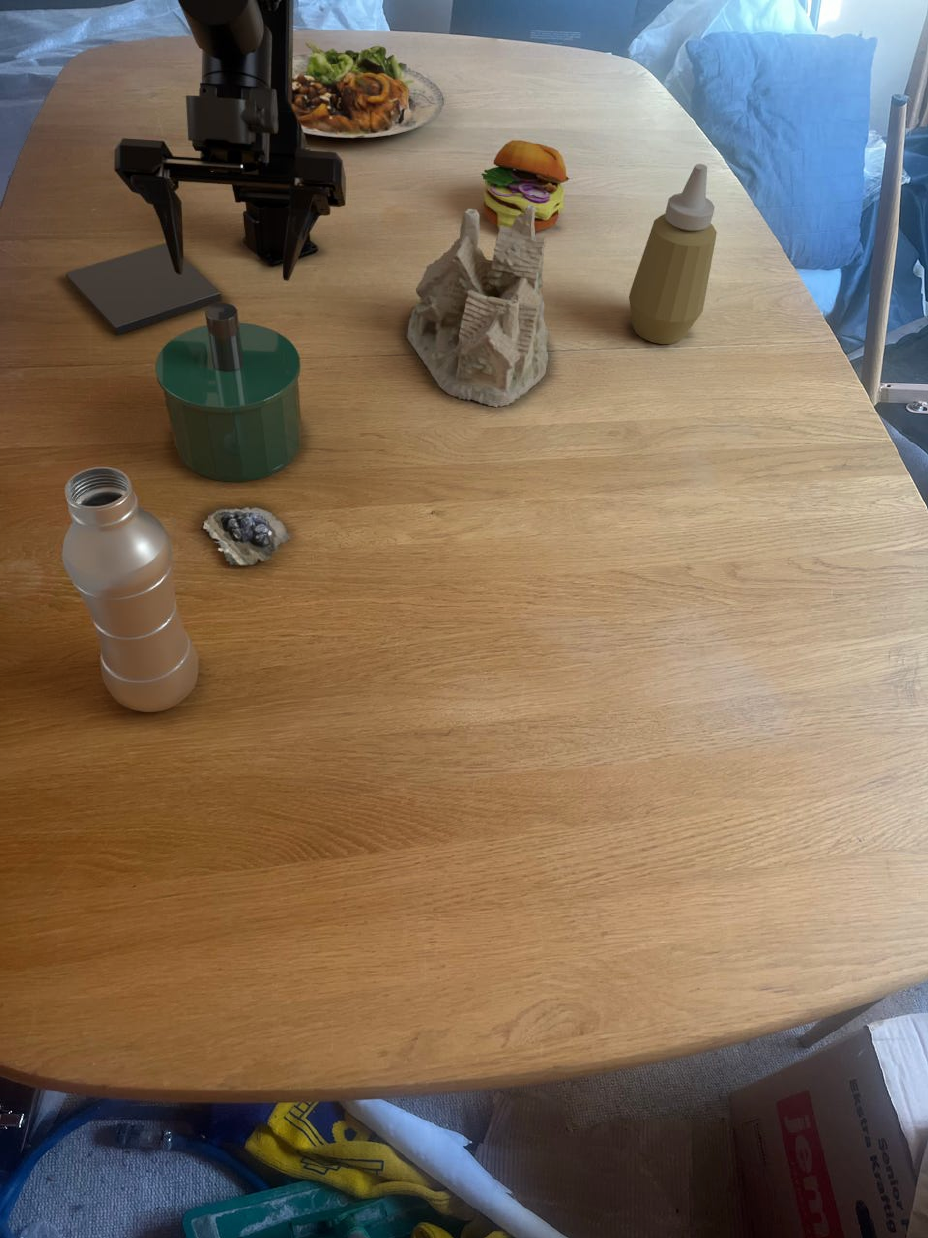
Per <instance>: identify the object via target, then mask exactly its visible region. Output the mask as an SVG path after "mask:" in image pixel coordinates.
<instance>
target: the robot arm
mask: <svg viewBox="0 0 928 1238" xmlns="http://www.w3.org/2000/svg"><path fill="white" fill-rule="evenodd" d="M177 2H178V4H179V7H180V9H181V11H182V14H183V16H184V18H185V21H186V22H187V25H188V27H189V30H190V32H191V34H192V37H193V39H194V41H195V44H196V45H197V47H198V48H199V49H201V82H199V88H198V89H199V91H198V95H185V105H186V122H187V140H188V141H189V142H190V141H191V146H192V147H193V149H194V151H195V152H199V153H200V154H199V157H189V156H175V155H173V153H172V151H171V150H170V148H169V147H168V145H167V144H166V142H165V140H156V139H140V138H125V137H123V138H121V140H120V141H119V142H118V144H117V145H116V147H115V149H114V161H113V162H114V164H113V165H114V167H113V168H114V169H113V171H114V172H115V173H116V175H118V177H119V178H120V179H121V180H122V182H123V183H124V184H125V186H127V188H128V189H129V190H130V191H131V192H132V193H135V194H137V195H140V196H141V198H142V199H143V200H144V202H145V203H147V204H149V205H151V206H153V209H154V212H155V213H156V216H157V219H158V222H159V224H160V227H161V231H162V234H163V236H164V240H165V243H166V244H167V247H168V250H169V254H170V257H171V260H172V264H173V267H174V270H175V272H176V273H177V274H182V269H183V260H184V259H185V258H184V256H185V255H184V233H183V231H184V229H183V205H182V200H181V198H180V197H179V196H178V194H177V193H176V191H177V190H178V189H179V188H180V187H179V185H180V184H179V182H181V183H182V182H184V183H199V184H215V185H230V186H231V188H232V192H233V197H234V202H235V203H237V204H238V203H239V204H240V203H244V204H245V210H244V211H242V220H243V228H244V236H243V237H242V243H243V244H244V245H245V246H246V247H247V248H249V250H251V252H253V253H254V254H255V255H256V256H258V257H259V258H260V259H261V260H262V261H263V262H265V263H266V264H267V265H268V266H270V267H276V266H279V265H281V264H282V279H283V280H284V281H287V282H289V281H290V279H291V276H292V274H293V271H294V269H295V267H296V264H297V261H298V259H300V258H303V257H307V256H309V255H312V254H315V253H317V252H319V246H318V245H317V244H315V243H314V241H312V240H311V231H312V230H313V228H314V226H315V224H316V223H317V221H318V219H319V217H321V216H324V217H325V216H326V217H327V216H330V215H331V208H332V207H334V208H341V207H345V206H346V202H347V201H346V199H347V197H346V196H347V195H346V194H347V177H346V172H345V171H346V170H345V166H344V160H343V159H342V158H341V156H340V155H339V154H338V153H337V151H336V152H335V151H322V150H321V151H320V150H311V148H307V138H306V136H305V133H304V132H303V130H302V127H301V124H300V122H299V120H298V118H297V117H296V115H295V113H294V111H293V109H292V72H293V56H294V0H177Z"/></svg>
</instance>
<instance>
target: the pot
mask: <svg viewBox="0 0 928 1238" xmlns="http://www.w3.org/2000/svg"><path fill="white" fill-rule="evenodd" d="M163 395H164V399H165V405H166V409H167V415H168V419H169V424H170V427H171V428H170V429H171V434H172V437H173V438H172V439H173V442H174V446H175V448H176V452H177V455H178V457H179V460H180V461H181V462H182V463H183V464H184V465H185V466H186V468H188V469H190V470H191V471H193V472H194V473H196V474H197V475H200V476H202V477H204V478H207V479H211V480H215V481H219V482H230V483H240V482H241V483H242V482H249V481H250V482H251V481H255V480H261V479H263V478H267V477H269V476H271V475H273V474H276V473H278V472H280V471H281V470H283V469H284V468H285V467H287V466H288V465H289V464H290V463H291V462H292V461H293V460H294V459H295V458H296V456H297V455H298V454H299V452H300V450H301V449H300V448H301V445H302V432H303V429H302V415H301V403H300V402H301V401H300V387H299V378H298V379H297V381H296V383H295V384H294V386H293V387H292V388H291V389H290V390H289V391H288V392H287V393H286V394H285V395H283V396H282V397H281V398H279V399H277V400H276V401H274V402H272V403H270V404H267V405H265V406H262V407H259V408H256V409H252V410H248V411H242V412H232V413H216V412H207V411H201V410H197V409H193V408H190V407H187V406H185V405H182V404H181V403H179V402H177V401H175V400H174V399H172V398H171V397H169V396H168V395H167V394H166V393H165V392H164V391H163Z"/></svg>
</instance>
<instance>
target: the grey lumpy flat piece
mask: <svg viewBox="0 0 928 1238" xmlns="http://www.w3.org/2000/svg"><path fill="white" fill-rule="evenodd" d="M277 518H278V516H274V514H273V513H272V512H270V511H268V510H266V509H262V508H260V507H253V508H250V507H247V506H246V507H244V508H241V509H239V508H236V507H235V508H234V509H233V508H227V509H225V508H222V509H217V510H215V511H213V512H212V513H211V514H210V515H207V519H205V520H204V521H203V527H202V528H203V530H206V532H208V534H209V538H212V539H214V540H215V539H216V540H218V541H215V543H216V544H218V546H219V545H220V547H219V548H217V550H218V551H219V552H221V553H222V552H223V554H224V557H225V558H226V559H225V561H226V562H229V564H230V565H232V566H233V565H234V566H239V567H240V566H249V565H250V566H252V565H256V564H257V563H258V560H260V561H261V562H265V561H268V560H269V559H270V558H271V557H272V553H273V552H276V553H278V551H279V550H280V547H279V545H280V544H282V543H288V541H291V540H292V539H291V536H292V534H289V533H287V532H288V530H287V528H286V526H285V524H283V522H282V520H278V519H277Z"/></svg>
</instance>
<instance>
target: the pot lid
mask: <svg viewBox="0 0 928 1238" xmlns="http://www.w3.org/2000/svg"><path fill="white" fill-rule="evenodd" d="M204 315H205V316H204V317H205V322H206V324H204V325H200V326H197V327H193V328H191V329H188V330H186V331H183V332H182V333H180V334H178V335H176V336H175V337H173V338H172V339H170V340H169V342H167V343H166V344H165V345H164V346H163V347H162V349H161V350H160V352H158V354H157V357H156V360H155V365H154V369H155V370H154V371H155V376H156V380H157V383H158V385H159V387H160V388H161V389H162V392H163V393H164V392H165V393H166V394H167V395H168V396H169V397H171V398H172V399H174V400H175V401H177V402H179V403H181V404H182V405H185V406H187V407H190V408H193V409H197V410H201V411H207V412H216V413H232V412H242V411H248V410H252V409H256V408H259V407H262V406H265V405H267V404H270V403H272V402H274V401H276V400H277V399H279V398H281V397H282V396H283V395H285V394H286V393H287V392H288V391H289V390H290V389H291V388H292V387H293V386H294V384H295V383H296V381H297V379H298V380H299V377H300V373H301V359H300V354H299V352H298V350H297V348H296V347H295V345H294V344H293V343H292V342H291V340H289V339H288V338H287V337H285V336H284V335H283V334H281V333H280V332H277V331H276V330H274V329H272V328H269V327H266V326H263V325H258V324H255V323H248V322H239V313H238V309H237V308H236V306H235V305H233V304H231V303H229V302H216V303H213V304H210V305H208V306H207V307H206V308H205V310H204Z"/></svg>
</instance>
